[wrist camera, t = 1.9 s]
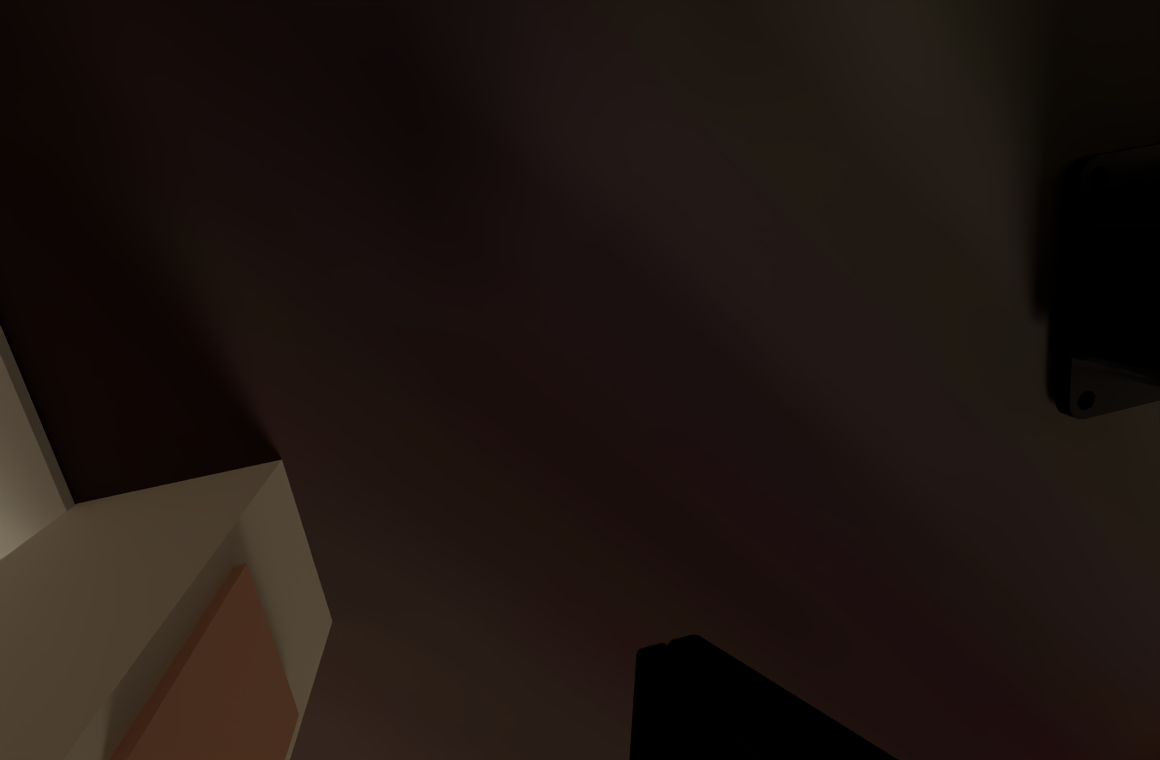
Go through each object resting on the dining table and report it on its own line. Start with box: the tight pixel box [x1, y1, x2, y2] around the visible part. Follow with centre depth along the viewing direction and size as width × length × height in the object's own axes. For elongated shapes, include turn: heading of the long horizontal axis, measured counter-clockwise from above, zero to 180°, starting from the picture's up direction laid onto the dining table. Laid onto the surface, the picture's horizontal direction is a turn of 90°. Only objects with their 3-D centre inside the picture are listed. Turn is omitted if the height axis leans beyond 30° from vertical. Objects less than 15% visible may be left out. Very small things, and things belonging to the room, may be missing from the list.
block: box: [0, 460, 332, 760], centre depth 9 cm, size 4×4×9 cm
